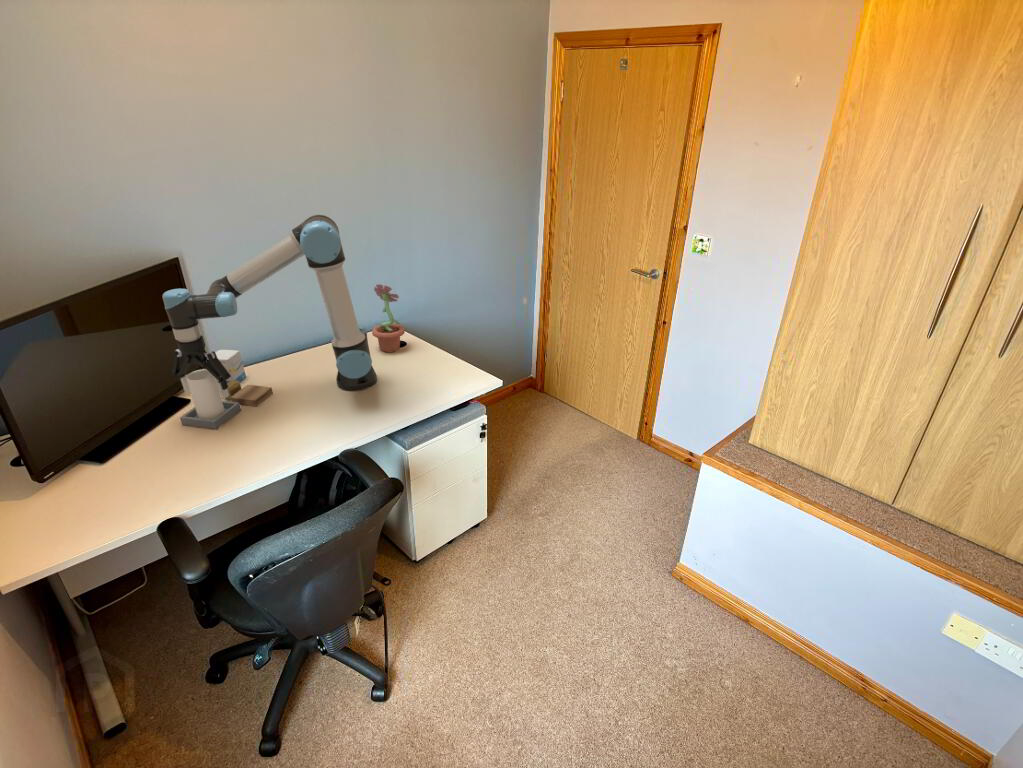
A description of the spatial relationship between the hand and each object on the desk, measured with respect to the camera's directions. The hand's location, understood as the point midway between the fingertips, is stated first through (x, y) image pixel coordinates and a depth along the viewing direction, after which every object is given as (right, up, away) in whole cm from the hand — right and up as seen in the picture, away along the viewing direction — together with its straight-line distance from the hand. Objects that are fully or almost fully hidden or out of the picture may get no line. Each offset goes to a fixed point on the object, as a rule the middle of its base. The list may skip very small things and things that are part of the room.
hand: (207, 395), depth 182 cm
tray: (-1, -8, +4) cm, 9 cm away
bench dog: (0, 0, +17) cm, 17 cm away
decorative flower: (+50, +19, +56) cm, 77 cm away
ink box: (-7, +5, +28) cm, 29 cm away
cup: (-1, -7, +4) cm, 8 cm away
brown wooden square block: (+8, -2, +16) cm, 18 cm away
